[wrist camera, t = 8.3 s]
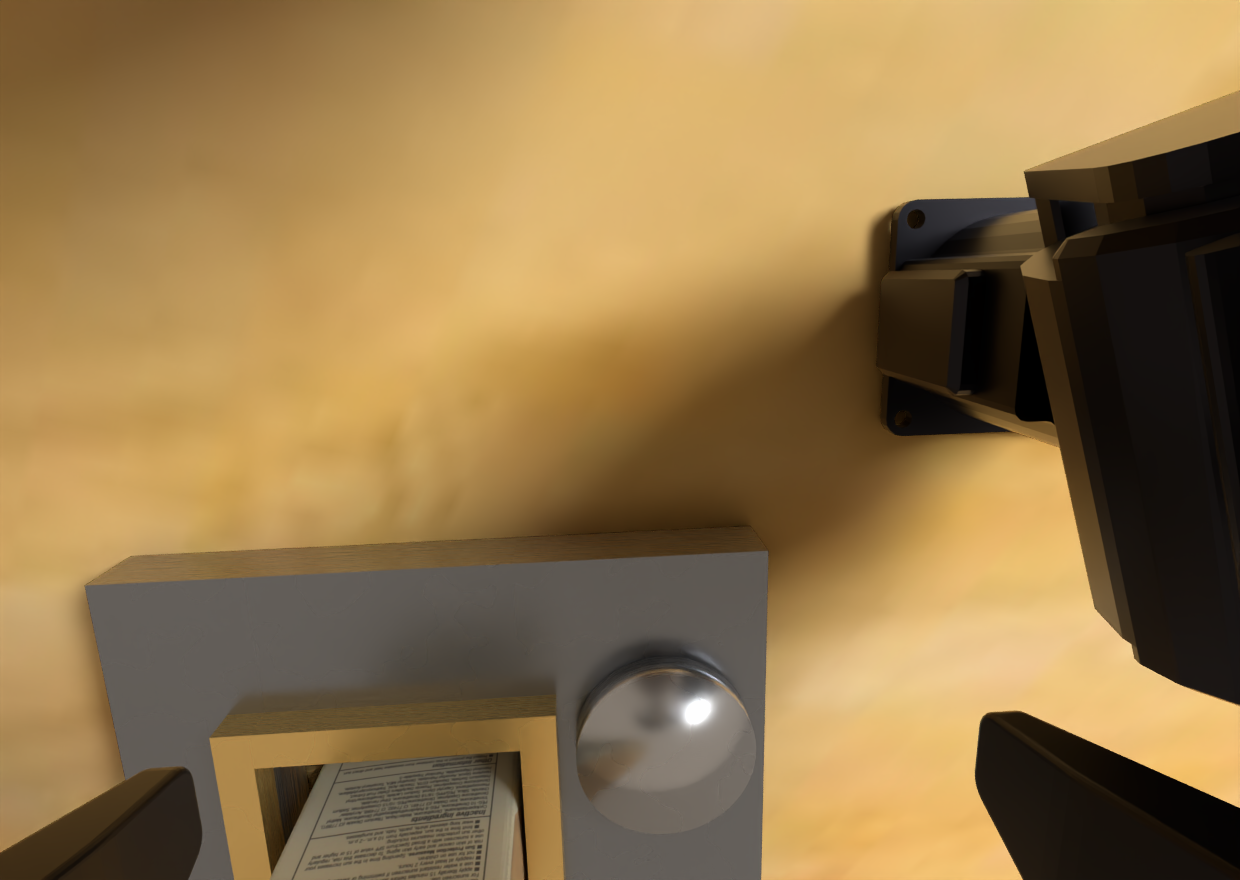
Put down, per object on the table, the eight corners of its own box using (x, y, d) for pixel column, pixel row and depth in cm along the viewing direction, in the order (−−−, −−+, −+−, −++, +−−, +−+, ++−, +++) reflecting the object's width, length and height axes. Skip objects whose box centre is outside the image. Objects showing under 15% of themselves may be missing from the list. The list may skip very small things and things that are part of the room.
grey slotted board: (750, 526, 21) (779, 565, 19) (743, 932, 25) (766, 1019, 22) (131, 556, 20) (57, 602, 17) (211, 977, 24) (161, 1074, 21)
